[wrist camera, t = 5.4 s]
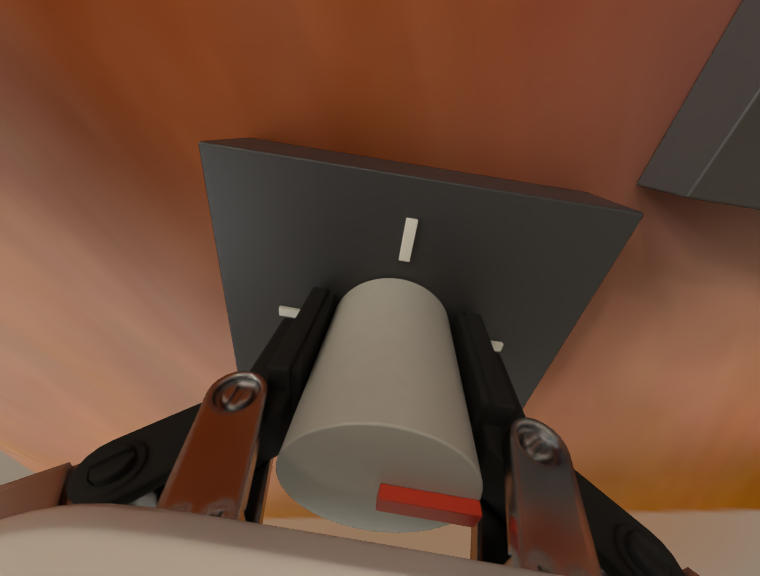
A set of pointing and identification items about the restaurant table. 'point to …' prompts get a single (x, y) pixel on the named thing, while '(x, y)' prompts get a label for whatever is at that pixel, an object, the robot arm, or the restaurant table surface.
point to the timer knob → (384, 418)
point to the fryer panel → (406, 244)
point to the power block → (717, 125)
